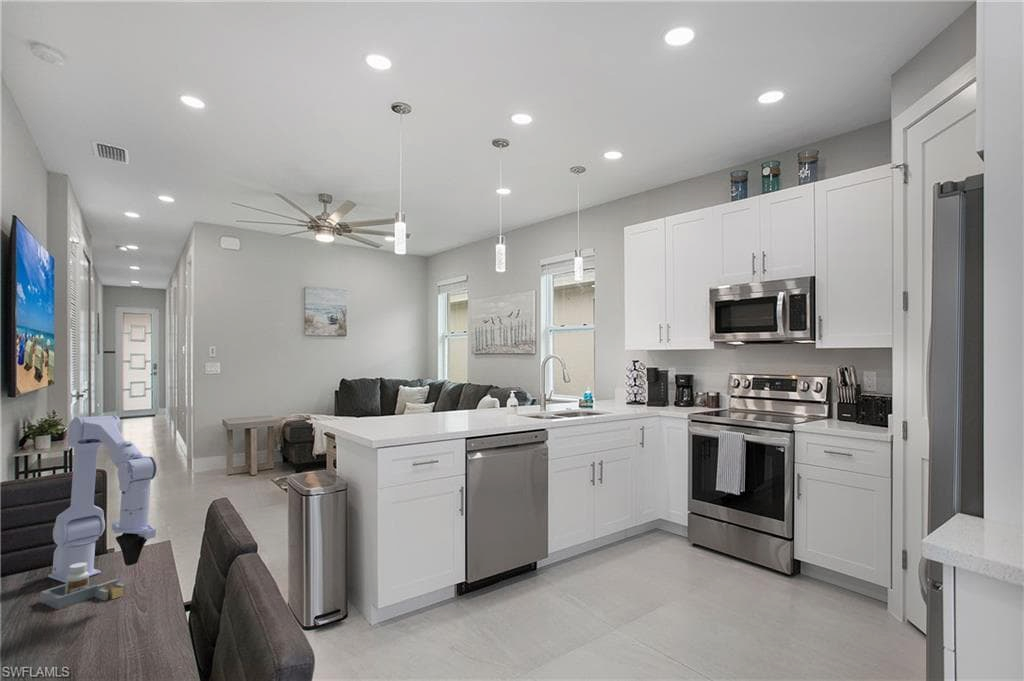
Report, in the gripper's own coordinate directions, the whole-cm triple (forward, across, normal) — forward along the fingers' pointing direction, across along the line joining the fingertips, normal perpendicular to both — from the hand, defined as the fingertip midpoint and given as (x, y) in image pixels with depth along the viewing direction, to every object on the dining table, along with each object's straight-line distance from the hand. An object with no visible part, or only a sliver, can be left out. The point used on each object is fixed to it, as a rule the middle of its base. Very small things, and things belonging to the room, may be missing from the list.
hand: (131, 563), depth 124 cm
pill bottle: (+9, -14, -4) cm, 17 cm away
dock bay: (+9, -12, -4) cm, 15 cm away
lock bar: (+9, -8, 0) cm, 12 cm away
